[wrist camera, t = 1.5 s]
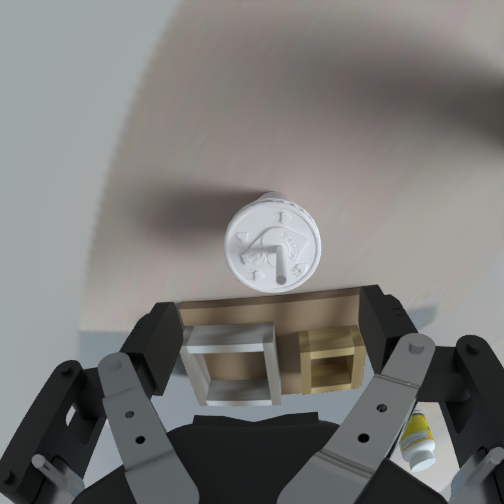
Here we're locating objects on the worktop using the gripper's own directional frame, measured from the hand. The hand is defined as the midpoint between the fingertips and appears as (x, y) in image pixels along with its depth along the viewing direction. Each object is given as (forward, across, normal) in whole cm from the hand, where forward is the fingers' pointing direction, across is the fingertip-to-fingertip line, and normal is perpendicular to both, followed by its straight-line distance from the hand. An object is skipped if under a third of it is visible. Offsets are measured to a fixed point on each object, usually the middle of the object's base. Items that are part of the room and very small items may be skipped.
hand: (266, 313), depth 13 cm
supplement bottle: (+17, -19, +36) cm, 44 cm away
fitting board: (+17, +1, +16) cm, 23 cm away
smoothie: (+17, 0, 0) cm, 17 cm away
